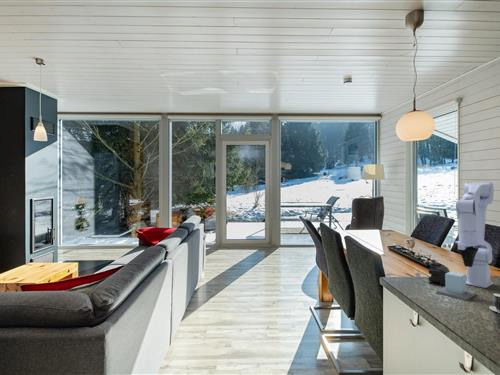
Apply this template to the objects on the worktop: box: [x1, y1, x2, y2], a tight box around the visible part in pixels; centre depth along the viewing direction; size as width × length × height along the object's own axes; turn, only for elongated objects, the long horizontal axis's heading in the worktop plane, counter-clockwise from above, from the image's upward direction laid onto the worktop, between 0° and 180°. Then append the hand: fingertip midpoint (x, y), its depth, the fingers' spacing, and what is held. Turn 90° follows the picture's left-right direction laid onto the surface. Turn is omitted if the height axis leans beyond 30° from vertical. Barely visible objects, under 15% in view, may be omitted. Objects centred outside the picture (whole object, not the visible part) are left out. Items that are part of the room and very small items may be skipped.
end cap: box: [428, 264, 451, 286], centre depth 131 cm, size 10×7×7 cm
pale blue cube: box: [444, 270, 467, 294], centre depth 117 cm, size 5×5×7 cm
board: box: [435, 286, 477, 301], centre depth 117 cm, size 10×10×1 cm
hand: (468, 266), depth 117 cm, fingers closed
